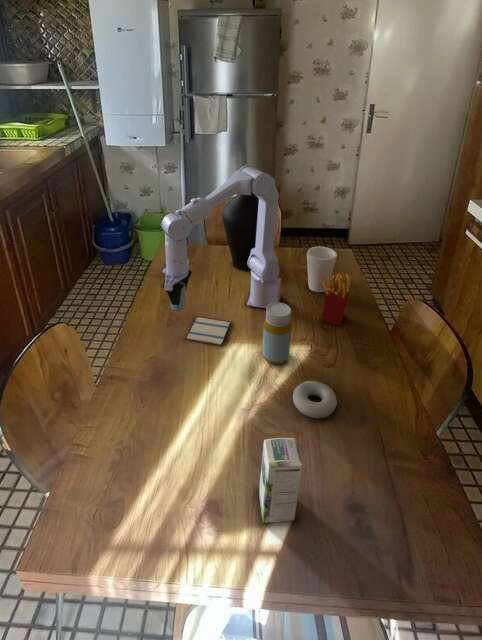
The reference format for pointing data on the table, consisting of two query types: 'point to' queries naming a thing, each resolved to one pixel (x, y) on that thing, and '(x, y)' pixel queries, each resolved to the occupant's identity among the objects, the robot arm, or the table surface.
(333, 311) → the french fries
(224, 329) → the dish cloth
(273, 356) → the bottle
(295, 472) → the syrup box
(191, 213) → the robot arm
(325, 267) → the foam cup
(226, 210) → the vase
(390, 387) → the table surface
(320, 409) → the donut
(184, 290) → the pepper shaker
